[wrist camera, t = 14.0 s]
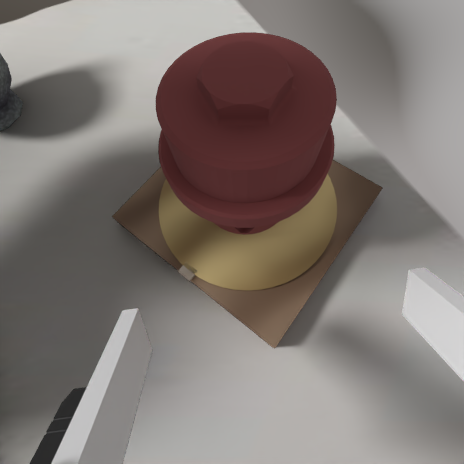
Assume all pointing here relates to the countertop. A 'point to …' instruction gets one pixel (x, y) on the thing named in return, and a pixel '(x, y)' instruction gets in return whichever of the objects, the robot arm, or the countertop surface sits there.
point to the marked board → (253, 247)
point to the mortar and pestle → (7, 98)
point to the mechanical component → (246, 129)
